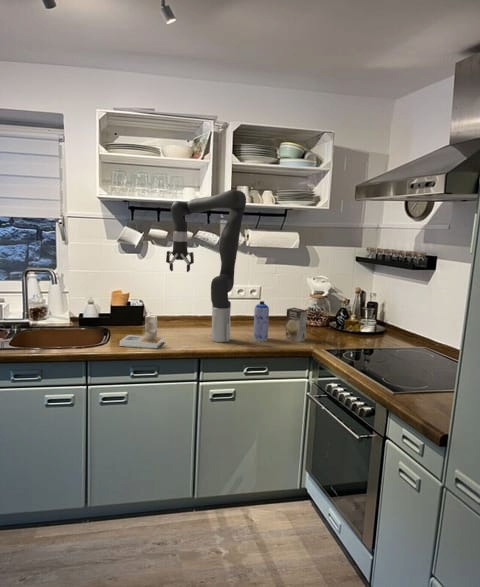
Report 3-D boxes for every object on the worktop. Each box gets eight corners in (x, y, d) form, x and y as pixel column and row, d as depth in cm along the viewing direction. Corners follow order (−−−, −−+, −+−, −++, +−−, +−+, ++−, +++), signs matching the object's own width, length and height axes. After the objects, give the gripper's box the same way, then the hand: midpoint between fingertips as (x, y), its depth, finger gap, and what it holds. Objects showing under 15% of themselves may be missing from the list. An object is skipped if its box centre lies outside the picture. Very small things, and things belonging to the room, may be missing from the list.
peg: (156, 343, 225) (157, 315, 223) (154, 346, 221) (154, 317, 219) (147, 343, 226) (147, 315, 223) (145, 345, 221) (145, 316, 219)
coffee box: (284, 338, 244) (285, 308, 241) (291, 336, 248) (293, 307, 246) (298, 342, 238) (300, 311, 235) (305, 340, 242) (307, 310, 240)
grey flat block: (163, 342, 229) (163, 336, 228) (156, 348, 217) (156, 342, 216) (128, 339, 230) (128, 334, 230) (119, 346, 218) (119, 340, 218)
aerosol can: (269, 338, 243) (271, 300, 240) (266, 341, 236) (268, 303, 233) (254, 336, 245) (256, 299, 242) (251, 340, 238) (252, 302, 235)
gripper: (165, 240, 237) (164, 271, 240) (192, 241, 236) (191, 272, 238) (168, 239, 245) (168, 270, 247) (195, 240, 243) (194, 271, 246)
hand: (179, 271), depth 243 cm, fingers open, 8 cm apart
